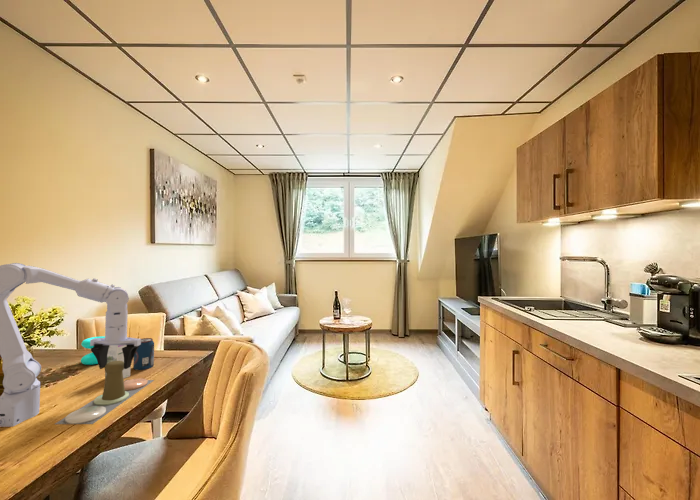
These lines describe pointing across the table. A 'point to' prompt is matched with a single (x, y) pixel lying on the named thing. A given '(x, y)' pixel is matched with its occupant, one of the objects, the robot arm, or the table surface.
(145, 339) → the soda can
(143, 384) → the peach dome knob
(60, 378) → the table surface
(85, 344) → the donuts
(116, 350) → the syrup box
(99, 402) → the pale green dome knob
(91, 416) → the white dome knob
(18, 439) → the table surface
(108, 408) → the grey board
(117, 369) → the cork
